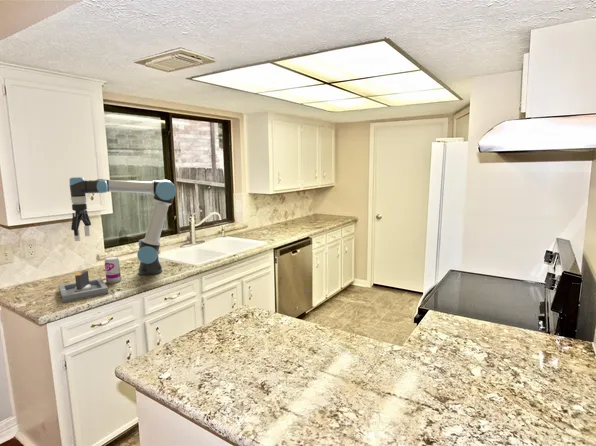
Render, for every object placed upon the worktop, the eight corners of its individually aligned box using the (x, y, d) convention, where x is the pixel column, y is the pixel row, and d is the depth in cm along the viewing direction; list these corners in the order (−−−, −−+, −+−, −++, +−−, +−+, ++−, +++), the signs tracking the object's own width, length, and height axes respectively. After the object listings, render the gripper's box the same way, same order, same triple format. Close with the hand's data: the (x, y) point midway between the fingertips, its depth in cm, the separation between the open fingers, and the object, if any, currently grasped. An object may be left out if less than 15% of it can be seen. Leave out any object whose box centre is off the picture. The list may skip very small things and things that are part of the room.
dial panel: (101, 283, 227) (100, 277, 226) (108, 293, 209) (107, 287, 209) (59, 291, 213) (58, 285, 213) (63, 302, 196) (62, 295, 196)
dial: (80, 287, 216) (78, 270, 214) (94, 286, 216) (92, 269, 215) (71, 293, 206) (69, 275, 204) (86, 292, 207) (84, 274, 205)
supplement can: (115, 283, 226) (113, 260, 223) (103, 282, 228) (101, 259, 225) (123, 279, 234) (121, 256, 231) (112, 278, 235) (110, 256, 233)
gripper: (81, 201, 229) (85, 234, 232) (61, 206, 204) (65, 243, 208) (94, 201, 230) (97, 234, 233) (76, 205, 205) (79, 242, 209)
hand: (82, 238), depth 221 cm, fingers open, 13 cm apart
